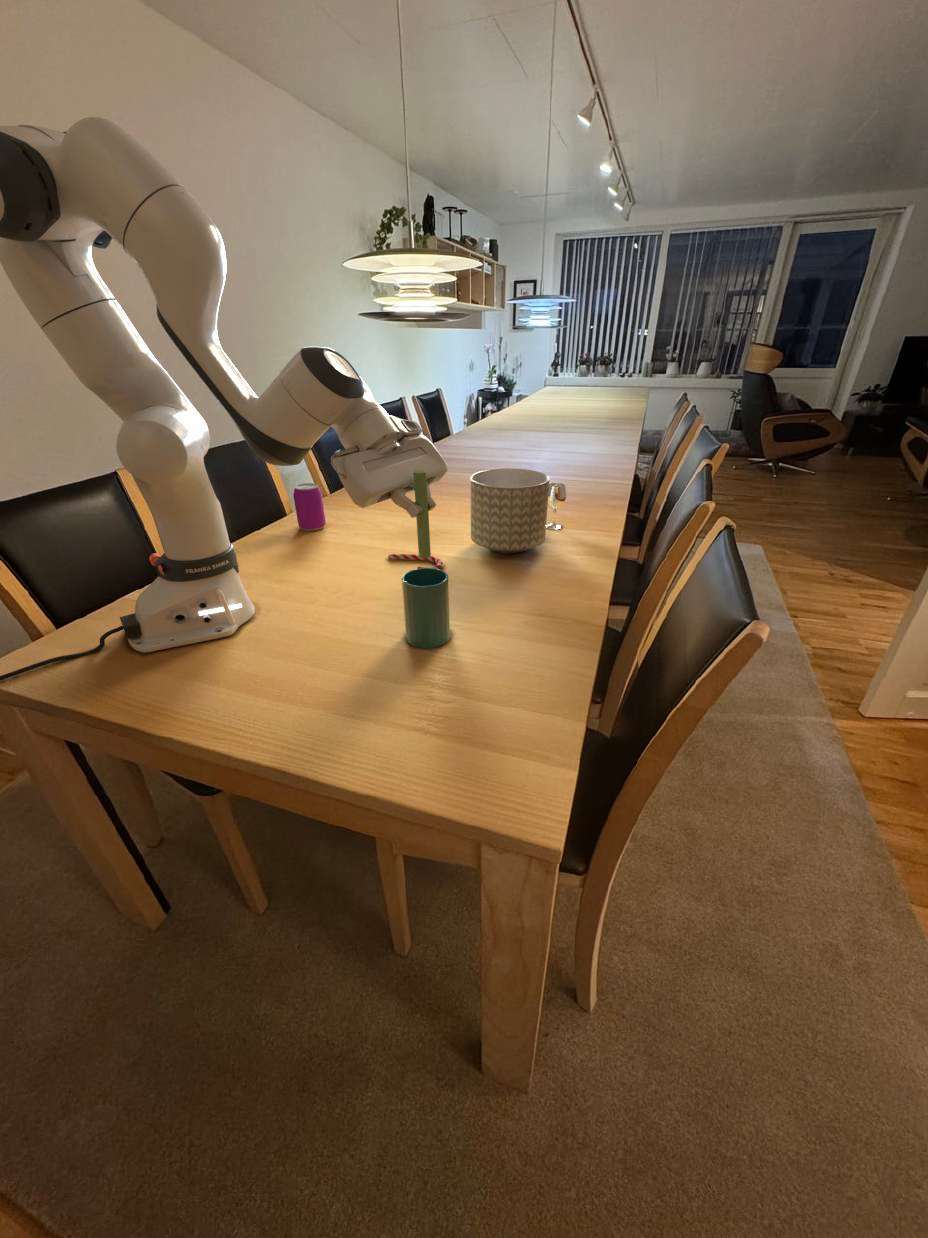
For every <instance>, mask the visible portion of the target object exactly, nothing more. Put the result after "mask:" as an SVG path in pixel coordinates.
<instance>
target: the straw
mask: <svg viewBox="0 0 928 1238" xmlns="http://www.w3.org/2000/svg"><path fill="white" fill-rule="evenodd" d="M413 474H414V489H415V491H414V502H416V501H417V502H418V503H419V504H420V506H421V507H422V508H423V512H422V513H420V515H418V516H416V517H415V519H416V533H417V549H418V555H419V557H422V558H427V557H430V556H432V552H431V551H432V550H431V534H430V518H429V517H430V513H429V511H428V494H427V476H426V471H424V470H417V471H414V472H413Z"/></svg>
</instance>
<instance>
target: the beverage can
mask: <svg viewBox="0 0 928 1238" xmlns="http://www.w3.org/2000/svg"><path fill="white" fill-rule="evenodd" d="M292 496H293V502H294V509H295V513H296V519H297V525H298V527H299V528H300V529H301V530H302V531H305V532H314V531H319V530H322V529H324V527H325V526H326V524H327V521H326V515H325V507H324V501H323V500H324V499H323V493H322V491H321V489H320V487H319V484H317V483H314V482H306V483H304V482H303V483H299V484H296V485H294V489H293V495H292Z"/></svg>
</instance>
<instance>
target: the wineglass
mask: <svg viewBox="0 0 928 1238" xmlns="http://www.w3.org/2000/svg"><path fill="white" fill-rule="evenodd" d="M566 489H567V487H566V484H564V483H563V482H552V483H551V482H549V492H548V507H550V508H551V509H552V523H549V524H546V529H548V530H553V531H554V530H560V529H562V526H561V525H560V524H556V515H557V509H558V508H561V507H563V506H564V505H565V504H566V500H567V490H566Z"/></svg>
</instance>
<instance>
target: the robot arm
mask: <svg viewBox="0 0 928 1238" xmlns="http://www.w3.org/2000/svg"><path fill="white" fill-rule="evenodd" d="M168 169H169V168H167V167H165V165H164V164H163V163H162V162H161V161H160V160H159V159H158V158H157V157H156V156H154V154H152V153H151V152H150V150H148V149H147V148H146V147H145V146H144V145H143V144H141V142H139V141H138V140H137V139H135V138H134V136H132V135H131V134H129V133H128V132H127V131H126V130H124V129H123V128H122V127H121V126H119V124H116V123H115V122H113V121H111V120H109V119H106V118H103V117H99V116H90V117H85V118H81V119H80V120H79V119H78V120H77V121H76V122H74V123H73V124H72V125H71V126H70V127H69V128H68V130H66V131H59V130H55V129H52V128H48V127H47V128H46V127H41V126H38V125H37V126H36V125H29V124H20V125H0V265H1V268H2V269H3V271H4V273H5V275H6V277H7V278H8V280H9V282H10V283H11V285H12V287H13V288H14V290H15V292H16V294H17V296H18V297H19V299H20V300H21V301H22V303H23V305H24V306H25V308H26V310H27V311H28V312H29V314H30V315H31V316H32V318H33V319H34V321H35V322H36V324H37V325H38V327H39V328H40V329H41V330H42V332H43V333H44V335H45V336H46V337H47V339H48V340H49V342H50V343H51V344H52V346H53V347H54V348H55V350H56V351H57V352H58V354H59V355H60V356H61V357H62V359H63V360H64V361H65V363H66V364H67V365H68V367H69V368H70V369H71V371H72V372H73V373H74V375H75V376H76V377H77V379H78V381H80V383H81V384H82V385H83V386H84V387H85V388H87V390H89V391H91V392H92V393H93V394H94V395H96V396H97V397H98V398H99V399H100V400H101V401H102V402H103V403H104V404H106V406H107V407H108V408H109V409H111V410H112V412H113V413H114V414H115V415H117V417H118V418H119V419H120V420H121V421H122V422H123V423H122V424H121V426H120V428H119V431H118V434H117V437H116V444H115V448H116V454H117V456H118V459H119V461H120V463H121V465H122V466H123V468H124V469H125V470H126V471H127V472H128V473H129V474H130V475H131V476H132V478H133V480H134V483H135V484H136V487H137V488H138V490H139V492H140V494H141V495H142V497H143V500H144V501H145V503H146V505H147V507H148V509H149V512H150V513H151V516H152V518H153V522H154V524H155V527H156V531H157V534H158V537H159V540H160V543H161V547H162V550H163V554H162V555H161V554H159V553H157V552H154V553H151V554H150V555H149V557H148V558H149V562H150V564H151V565H152V566H153V567H155V570H156V573H157V575H158V576H157V577H156V578H155V579H154V580H153V581H152V582H151V583H150V584H149V585H148V586H147V587H146V588H145V589H144V590H143V591H142V592H141V593H140V594H139V595H138V597H137V598H136V601H135V607H134V613H130V614H126V615H122V616H119V620H120V623H121V625H120V626H118V627H115V628H113V629H110V630H108V631H106V632H105V633H103V634H102V635H101V636H100V638H99V644H98V645H97V646H96V647H95V648H92V649H90V650H88V651H84V652H80V653H71V654H66V655H59V656H55V657H52V658H48V659H44V660H42V661H38V662H36V663H33V664H30V665H28V666H24V667H21V668H19V669H16V670H13V671H10V672H7V673H5V674H1V675H0V681H4V680H6V679H9V678H12V677H15V676H17V675H20V674H23V673H26V672H29V671H32V670H34V669H38V668H40V667H43V666H47V665H50V664H52V663H55V662H60V661H64V660H65V661H66V660H70V659H76V658H80V657H83V656H87V655H90V654H94V653H96V652H99V651H101V650H102V649H103V648H104V647H105V645H106V642H105V641H106V639H107V638H108V637H109V636H111V635H114V634H116V633H119V632H121V631H124V633H125V636H126V639H127V641H128V644H129V646H130V647H131V648H132V649H133V650H135V651H137V652H140V653H143V654H145V653H151V652H156V651H157V652H158V651H161V650H165V649H170V648H175V647H181V646H186V645H191V644H197V643H200V642H205V641H206V642H207V641H210V640H216V639H222V638H226V637H231V636H232V635H233V634H235V633H236V631H237V630H238V628H239V627H241V626H243V624H245V623H246V622H248V621H250V619H251V618H252V617H253V616H254V614H255V612H256V607H255V605H254V604H253V602H252V601H251V599H250V597H249V595H248V593H247V590H246V589H245V587H244V584H243V582H242V580H241V579H242V578H241V576H240V574H239V573H240V569H239V567H240V566H239V561H238V557H237V553H236V550H235V547H234V545H233V544H232V543H231V542H230V538H229V533H228V529H227V526H226V522H225V517H224V513H223V508H222V505H221V502H220V501H219V499H218V497H217V495H216V493H215V491H214V488H213V486H212V483H211V481H210V478H209V474H208V472H207V469H206V465H205V460H204V459H205V458H204V457H205V456H206V455H207V453H208V451H209V450H210V445H211V434H210V430H209V427H208V424H207V423H206V421H205V419H204V417H203V416H202V415H201V414H200V412H198V411H197V409H196V408H195V407H194V405H193V404H192V402H191V401H190V400H189V398H188V397H187V396H186V395H185V393H184V392H183V391H182V389H181V388H180V387H179V386H178V384H177V383H176V382H175V381H174V380H173V378H172V377H171V376H170V374H169V373H168V371H166V369H164V367H163V366H162V365H161V363H159V361H158V360H157V358H156V357H155V355H154V354H153V353H152V352H151V350H150V349H149V347H148V346H147V343H145V341H144V340H143V338H142V337H141V335H140V334H139V332H138V331H137V329H136V328H135V326H134V325H133V323H132V321H131V320H130V318H129V316H128V315H127V314H126V312H125V311H124V310H123V308H122V306H121V305H120V303H119V302H118V300H117V299H116V297H115V296H114V294H113V293H112V291H111V290H110V288H109V287H108V285H106V283H105V281H104V280H103V279H102V276H100V273H99V272H98V270H97V268H96V266H95V263H94V261H93V255H92V251H93V247H94V248H97V249H102V250H103V249H107V248H108V247H109V246H110V245H111V243H112V241H113V240H114V241H115V243H117V245H118V246H119V247H120V248H121V249H122V250H123V251H124V253H126V254H127V255H128V257H130V258H131V260H132V261H133V262H134V263H135V265H136V266H137V267H138V268H139V270H140V271H141V273H142V275H143V277H144V278H145V280H146V282H147V283H148V285H149V287H150V290H151V292H152V294H153V297H154V300H155V303H156V304H155V305H156V317H157V319H158V321H159V323H160V324H161V327H162V328H163V329H164V331H165V332H166V334H167V335H168V337H169V339H170V340H171V341H172V342H173V345H175V347H176V348H177V349H178V351H179V352H180V353H181V355H182V356H183V358H185V360H186V361H187V363H188V364H189V365H190V366H191V368H192V369H193V370H194V371H195V373H196V374H197V375H198V376H199V378H200V379H201V381H202V382H203V383H204V384H205V386H206V387H207V389H208V390H209V391H210V392H211V394H212V395H213V396H214V397H215V399H216V400H217V401H218V402H219V404H220V405H221V406H222V408H223V409H224V411H226V413H227V414H228V416H229V417H230V418H231V420H232V422H233V423H234V424H235V426H236V428H237V429H238V431H239V433H240V434H241V436H242V437H243V439H244V441H245V443H246V444H247V445H248V447H249V448H250V450H252V452H253V453H254V454H255V455H256V456H257V457H258V458H259V459H261V460H262V461H263V462H265V463H267V464H269V465H273V466H278V467H279V466H280V467H288V466H296V465H297V466H298V465H299V464H301V463H302V462H303V460H304V459H305V458H306V456H307V455H308V454H309V452H310V451H311V450H312V448H313V446H314V445H315V444H316V443H317V442H318V440H320V438H322V437H323V435H324V434H326V433H327V431H328V430H329V429H330V428H332V429H333V430H334V431H335V433H336V435H337V438H338V440H339V442H340V443H341V444H342V446H343V447H344V449H342V450H341V449H339V450H336V451H333V453H332V456H331V457H330V465H331V466H332V468H333V470H334V471H335V472H336V474H337V475H338V478H339V480H340V483H341V485H342V486H343V488H344V489H345V491H346V493H347V495H348V496H349V498H350V499H351V501H352V502H353V503H354V505H356V506H358V507H360V508H362V509H365V508H367V507H370V506H373V505H376V504H379V503H382V502H384V501H385V502H386V501H388V500H391V501H392V503H394V505H396V506H398V507H399V508H401V509H403V510H405V511H406V513H408V515H409V516H410V518H412V519H413V518H416V516H418V515H420V513H422V512H423V508H422V507H421V506H420V504H419V503H418V502H417V501H416V502H415V501H413V500H412V499H411V498H409V497H408V496H407V495H406V494H407V493H409V492H413V491H414V492H415V489H414V474H413V472H414V471H417V470H424V471H426V476H427V494H428V512H431V511H433V510H434V509H435V507H437V503H436V502H435V500H434V499H433V498H432V494H431V489H430V485H433V484H436V483H438V482H440V480H441V479H442V478H443V477H444V476H445V475H446V473H448V465H447V462H446V461H445V458H444V457H443V455H442V454H441V452H439V450H438V449H437V448H436V445H434V443H433V442H432V441H431V440H430V439H429V438H428V437H427V436H425V435H423V434H422V432H423V428H422V426H421V425H420V424H419V423H418V422H417V421H415V420H410V419H404V418H400V417H397V416H394V415H389V413H387V411H386V410H385V408H383V407H382V406H381V404H379V403H378V402H377V401H376V399H374V397H373V394H372V391H371V389H370V388H369V386H368V385H367V384H366V383H365V381H364V380H363V378H362V377H361V375H360V374H359V373H358V372H357V370H356V369H355V368H354V367H353V365H352V363H350V362H349V360H348V359H347V358H346V357H345V356H344V355H342V354H341V353H340V352H338V351H336V350H335V349H332V348H330V347H326V346H325V347H324V346H323V347H320V346H304V347H302V348H301V349H300V350H299V351H297V352H296V353H295V354H294V355H293V356H292V358H290V360H289V361H288V362H287V363H286V365H285V366H284V367H283V368H282V369H281V370H280V371H279V374H278V375H277V376H276V377H275V378H274V380H272V381H271V383H270V384H269V385H268V387H267V388H266V389H265V390H264V391H263V392H262V393H261V395H260V396H258V395H257V394H256V393H255V392H254V391H253V389H252V388H251V386H250V385H249V383H248V382H247V381H246V380H245V378H244V377H243V376H242V374H241V373H240V372H239V370H238V369H237V367H235V365H234V363H233V362H232V360H231V359H230V358H229V357H228V355H227V354H226V353H225V351H224V350H223V348H222V346H221V343H220V340H219V335H218V314H219V308H220V302H221V298H222V294H223V291H224V288H225V287H224V286H225V284H226V283H225V282H226V275H227V257H226V250H225V245H224V241H223V239H222V238H223V237H222V236H221V233H220V230H219V229H218V227H217V226H216V224H215V223H214V221H213V220H212V219H211V217H210V216H209V214H208V213H207V212H206V211H205V209H204V208H203V207H202V205H201V204H200V203H199V202H198V201H197V200H196V198H194V196H193V195H192V194H191V193H190V192H189V191H188V189H186V188H185V187H184V185H183V184H182V183H181V182H180V181H179V180H178V178H176V177H175V175H174V174H173V173H172V172H171V171H170V170H168Z"/></svg>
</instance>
